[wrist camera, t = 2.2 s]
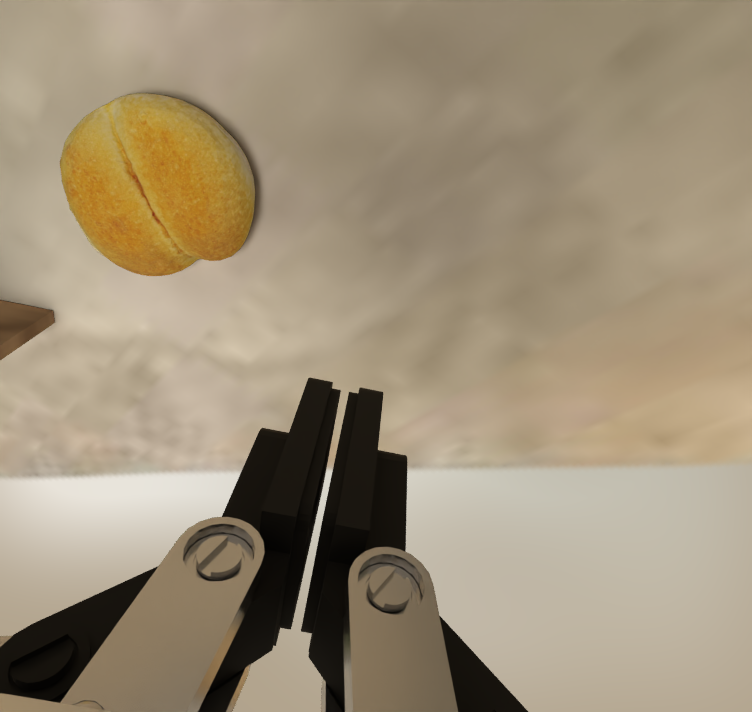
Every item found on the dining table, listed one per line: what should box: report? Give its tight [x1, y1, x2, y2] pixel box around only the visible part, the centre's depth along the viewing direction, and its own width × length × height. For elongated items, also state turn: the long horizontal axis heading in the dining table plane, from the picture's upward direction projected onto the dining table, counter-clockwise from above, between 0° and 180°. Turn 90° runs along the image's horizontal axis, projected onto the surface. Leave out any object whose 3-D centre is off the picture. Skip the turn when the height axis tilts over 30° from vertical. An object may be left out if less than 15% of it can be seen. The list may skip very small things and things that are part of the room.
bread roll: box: [60, 93, 255, 276], centre depth 24 cm, size 8×9×4 cm
